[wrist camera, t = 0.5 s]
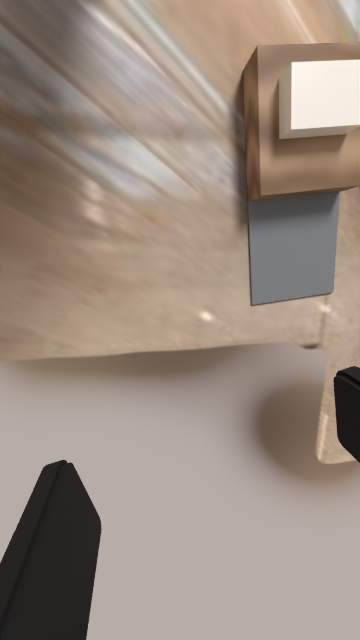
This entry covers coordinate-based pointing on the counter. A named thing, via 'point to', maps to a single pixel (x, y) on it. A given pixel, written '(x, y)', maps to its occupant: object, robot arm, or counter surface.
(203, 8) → the counter surface
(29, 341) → the counter surface
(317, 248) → the rubber mat
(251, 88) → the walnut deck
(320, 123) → the cream rectangular block
